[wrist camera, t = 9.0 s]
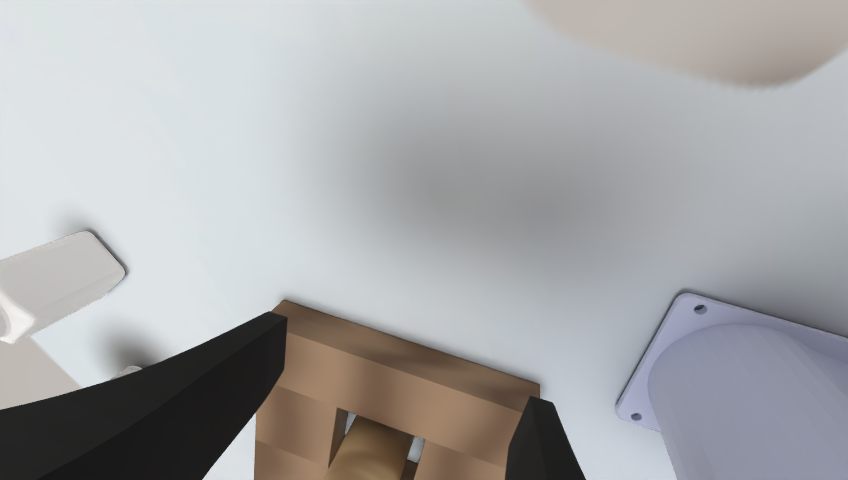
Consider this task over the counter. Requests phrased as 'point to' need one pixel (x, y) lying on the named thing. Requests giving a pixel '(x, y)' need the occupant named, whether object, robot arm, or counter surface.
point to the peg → (370, 452)
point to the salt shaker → (53, 283)
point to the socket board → (383, 402)
